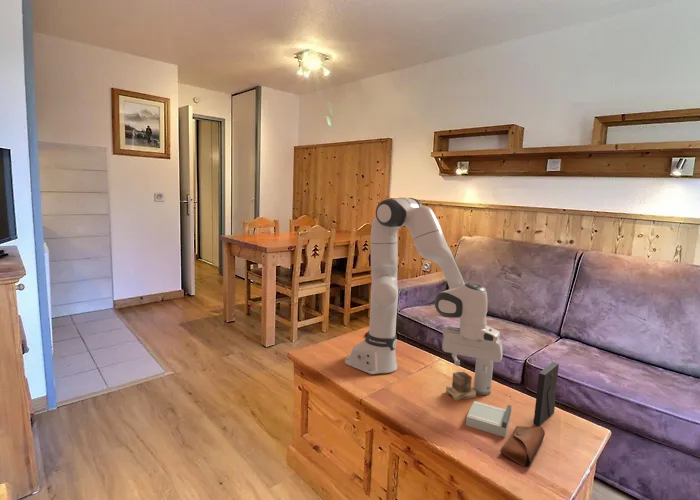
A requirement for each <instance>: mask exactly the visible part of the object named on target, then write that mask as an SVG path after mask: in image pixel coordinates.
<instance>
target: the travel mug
mask: <svg viewBox="0 0 700 500" xmlns="http://www.w3.org/2000/svg"><path fill="white" fill-rule="evenodd" d="M486 364H487V363H486V360H483V359H479V358H475V368H474V369H475V370H474V377H473V378H474V379H473V381H474V382H473V389H474V390H475V391H476V394H478V395H483V396H487V395H490V394H491V391H492V382H493V381H492V380H493V372H494V371H493V369H494V362H493V361H491V363H490V364H489V365H488V367H487V372H484V371H482V366H483V365H486Z"/></svg>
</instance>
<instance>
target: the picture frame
mask: <svg viewBox="0 0 700 500" xmlns="http://www.w3.org/2000/svg"><path fill="white" fill-rule="evenodd" d="M559 366H560V365H559V363H558V362H551V363H550V364H549V365H547V366H546V367H545V368H544V369H542V370H541V371H540V372H539V373H538V380H537V389H536V396H535V406H534V407H535V408H534V416H533V425H535V426H537V427H541V426H542V425H543V423H544V422H545V421H546V420H547V419H548V418H550V417H552V415H553V414H555V408H556V393H557V392H556V391H557V383H558V375H559V374H558V373H559Z"/></svg>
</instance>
